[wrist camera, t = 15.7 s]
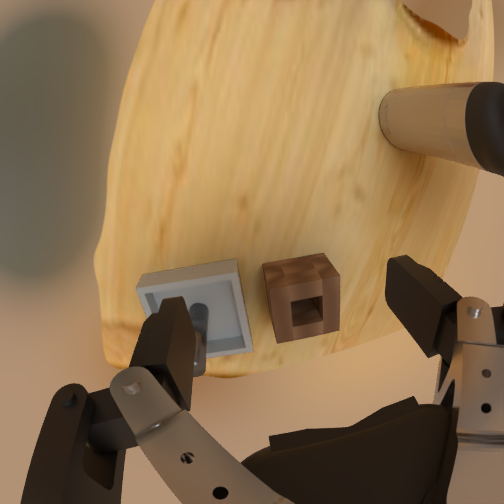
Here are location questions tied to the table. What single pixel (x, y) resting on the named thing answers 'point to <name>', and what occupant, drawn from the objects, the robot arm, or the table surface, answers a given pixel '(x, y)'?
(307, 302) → the pin block
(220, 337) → the tray
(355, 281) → the table surface
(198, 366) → the pin
